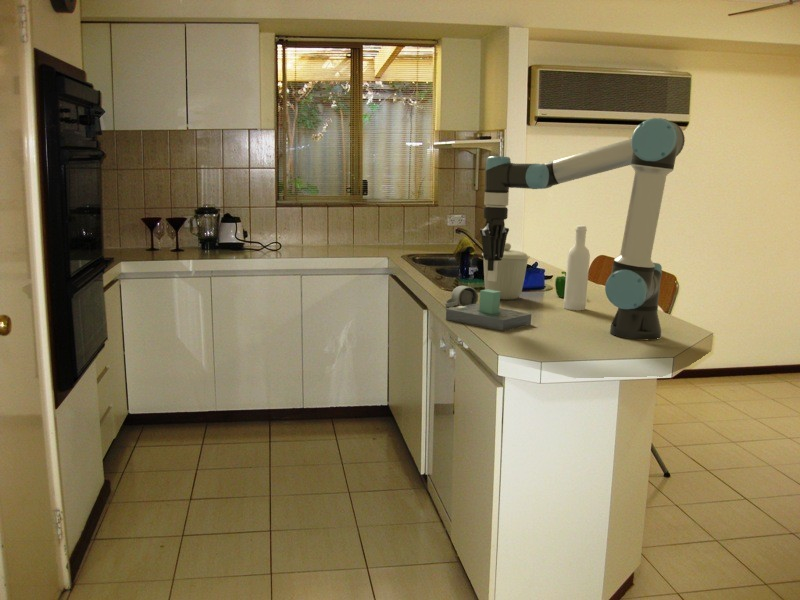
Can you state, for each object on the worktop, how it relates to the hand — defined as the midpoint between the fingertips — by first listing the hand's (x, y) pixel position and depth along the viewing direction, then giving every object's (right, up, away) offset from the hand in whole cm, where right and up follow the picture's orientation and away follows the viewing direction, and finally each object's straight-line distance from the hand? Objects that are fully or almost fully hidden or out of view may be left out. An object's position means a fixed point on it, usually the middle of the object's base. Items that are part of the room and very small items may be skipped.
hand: (492, 280), depth 250 cm
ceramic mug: (-8, -9, +27) cm, 30 cm away
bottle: (+34, -9, +34) cm, 49 cm away
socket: (-1, -13, +3) cm, 14 cm away
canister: (+10, -5, +51) cm, 52 cm away
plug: (-1, -12, +2) cm, 13 cm away
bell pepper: (+36, -5, +59) cm, 69 cm away
